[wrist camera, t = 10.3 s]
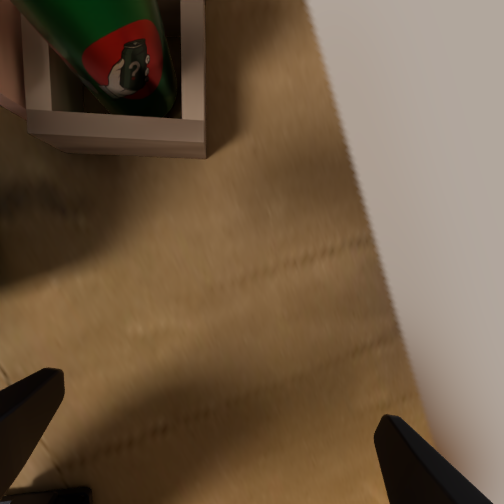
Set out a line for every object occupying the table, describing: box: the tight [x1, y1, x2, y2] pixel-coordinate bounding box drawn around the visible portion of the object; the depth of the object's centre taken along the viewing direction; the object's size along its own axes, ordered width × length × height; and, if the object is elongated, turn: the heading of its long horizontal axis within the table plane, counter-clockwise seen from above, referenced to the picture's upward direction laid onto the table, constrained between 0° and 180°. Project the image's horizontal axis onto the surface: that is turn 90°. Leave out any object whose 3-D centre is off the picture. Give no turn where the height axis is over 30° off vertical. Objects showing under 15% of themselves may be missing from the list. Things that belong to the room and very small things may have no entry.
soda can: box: [10, 0, 177, 118], centre depth 11 cm, size 5×5×12 cm
